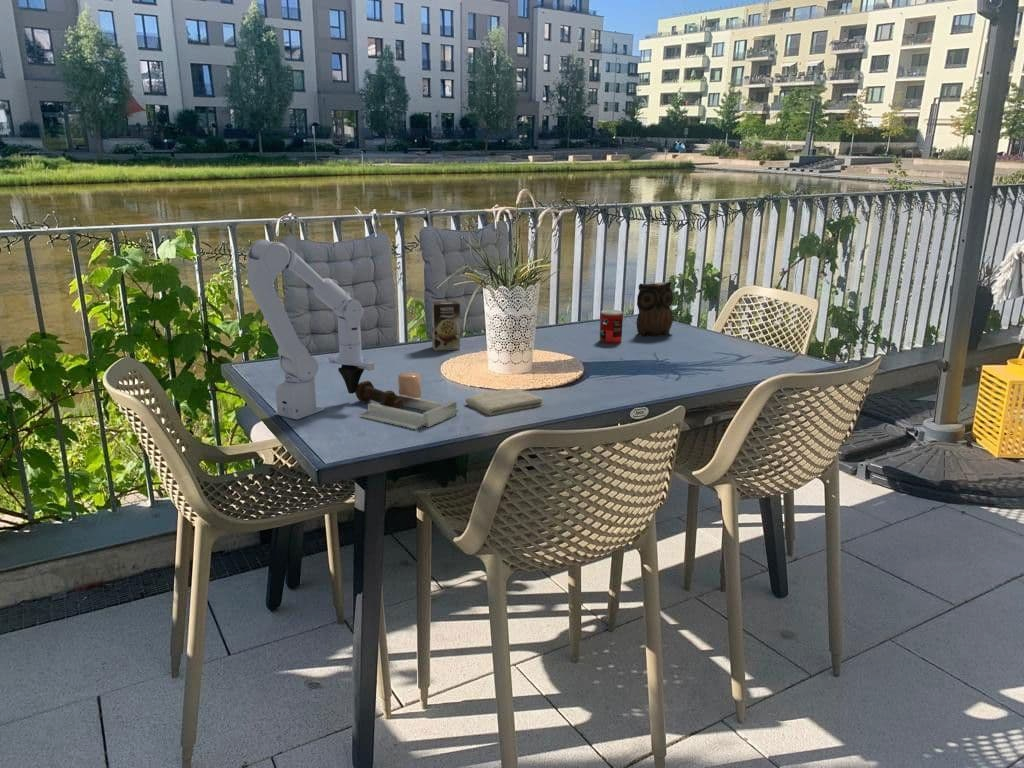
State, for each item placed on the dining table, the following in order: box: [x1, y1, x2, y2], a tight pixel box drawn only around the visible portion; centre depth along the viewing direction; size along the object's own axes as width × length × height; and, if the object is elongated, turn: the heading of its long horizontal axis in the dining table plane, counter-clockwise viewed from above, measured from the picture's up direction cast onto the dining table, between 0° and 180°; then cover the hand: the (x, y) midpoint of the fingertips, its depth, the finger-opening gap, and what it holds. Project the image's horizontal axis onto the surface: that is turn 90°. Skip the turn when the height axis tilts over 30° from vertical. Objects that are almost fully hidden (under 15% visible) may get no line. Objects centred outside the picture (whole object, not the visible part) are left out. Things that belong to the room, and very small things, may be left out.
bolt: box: [354, 380, 403, 409], centre depth 198 cm, size 6×5×15 cm
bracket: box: [359, 392, 460, 431], centre depth 191 cm, size 18×20×4 cm
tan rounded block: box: [397, 371, 422, 398], centre depth 206 cm, size 6×6×6 cm
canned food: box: [599, 309, 624, 345], centre depth 273 cm, size 8×8×11 cm
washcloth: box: [465, 387, 543, 416], centre depth 200 cm, size 12×18×3 cm, turn 124°
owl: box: [636, 281, 675, 337], centre depth 284 cm, size 13×13×20 cm
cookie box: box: [431, 300, 461, 352], centre depth 260 cm, size 9×6×16 cm
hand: (352, 392), depth 202 cm, fingers closed
